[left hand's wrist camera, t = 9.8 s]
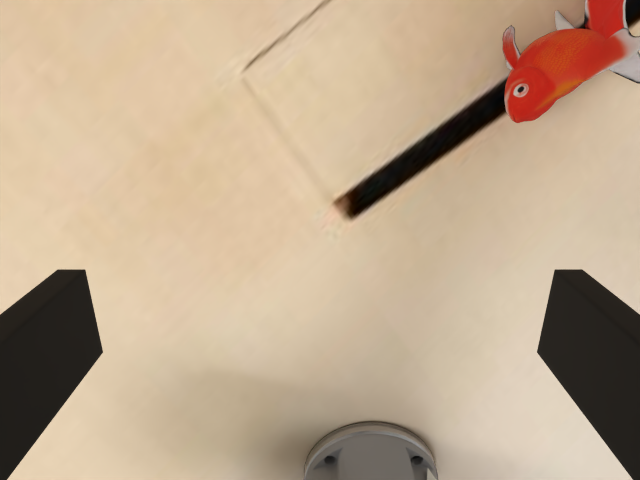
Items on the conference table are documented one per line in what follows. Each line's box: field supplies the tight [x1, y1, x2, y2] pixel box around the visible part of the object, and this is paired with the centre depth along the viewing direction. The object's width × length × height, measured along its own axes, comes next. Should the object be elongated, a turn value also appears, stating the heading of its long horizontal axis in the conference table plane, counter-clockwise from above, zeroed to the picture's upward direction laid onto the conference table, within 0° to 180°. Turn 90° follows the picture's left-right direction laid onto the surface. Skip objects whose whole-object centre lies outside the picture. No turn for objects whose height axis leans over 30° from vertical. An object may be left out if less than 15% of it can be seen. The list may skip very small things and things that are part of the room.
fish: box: [503, 0, 640, 123], centre depth 31 cm, size 11×16×10 cm
